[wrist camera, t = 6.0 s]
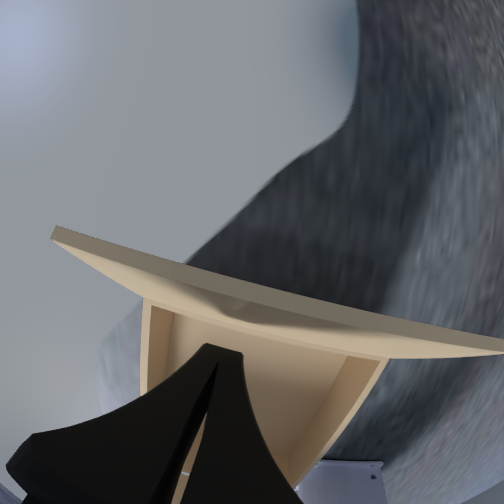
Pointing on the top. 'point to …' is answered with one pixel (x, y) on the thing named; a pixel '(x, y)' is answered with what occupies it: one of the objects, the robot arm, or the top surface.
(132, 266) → the near flap
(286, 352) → the carton
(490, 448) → the top surface
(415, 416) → the top surface
